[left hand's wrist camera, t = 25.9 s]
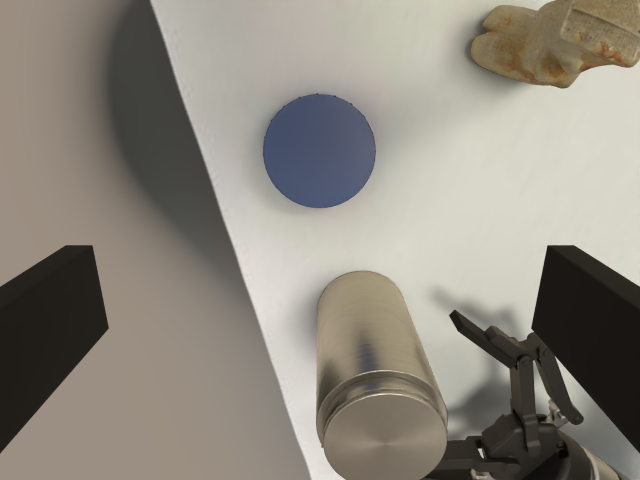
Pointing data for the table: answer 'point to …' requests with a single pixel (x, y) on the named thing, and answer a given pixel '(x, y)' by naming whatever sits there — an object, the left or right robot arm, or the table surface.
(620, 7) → the sculpture
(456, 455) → the right robot arm
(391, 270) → the table surface
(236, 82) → the table surface
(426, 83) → the table surface
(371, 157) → the lid
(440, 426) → the jar
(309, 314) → the table surface
